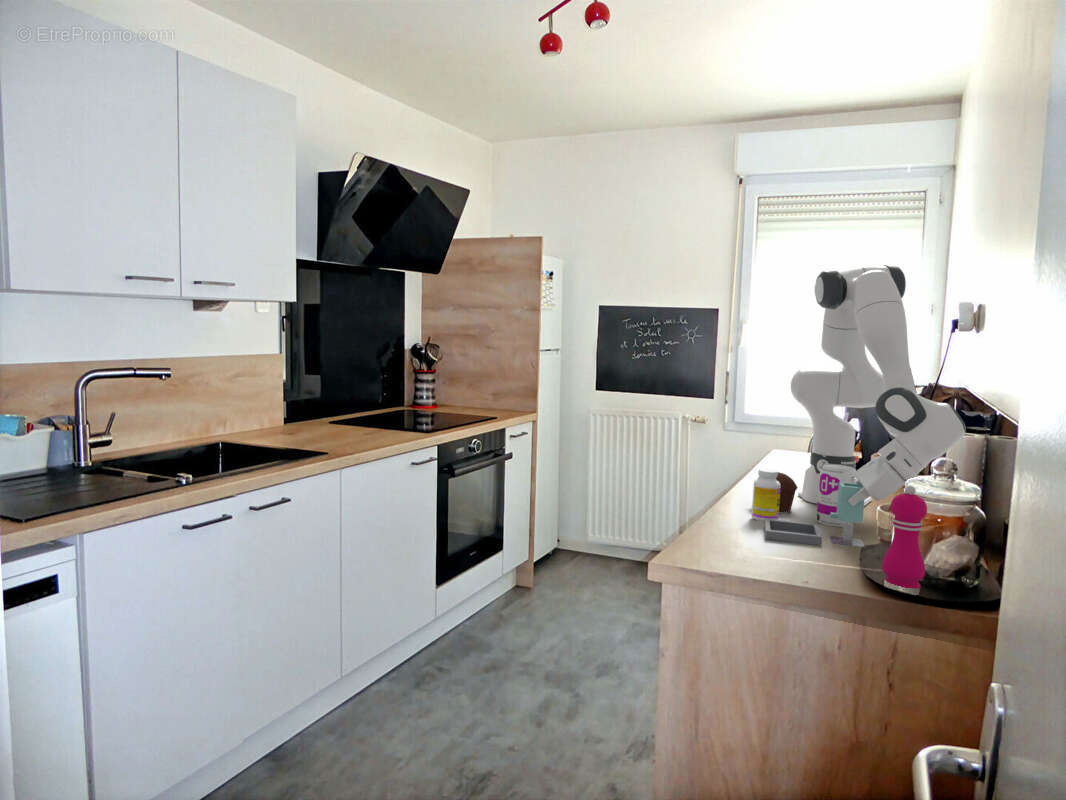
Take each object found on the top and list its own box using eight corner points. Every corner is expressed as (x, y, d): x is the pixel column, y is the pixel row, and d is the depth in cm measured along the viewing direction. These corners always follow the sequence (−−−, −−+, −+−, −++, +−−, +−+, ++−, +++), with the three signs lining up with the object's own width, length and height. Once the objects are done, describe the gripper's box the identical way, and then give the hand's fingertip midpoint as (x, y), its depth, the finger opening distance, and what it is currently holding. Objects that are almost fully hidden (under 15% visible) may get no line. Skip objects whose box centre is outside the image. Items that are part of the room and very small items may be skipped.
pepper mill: (872, 584, 140) (881, 481, 138) (908, 584, 140) (917, 482, 139) (893, 597, 133) (903, 489, 131) (931, 598, 133) (941, 490, 132)
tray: (764, 528, 179) (765, 518, 178) (816, 534, 175) (817, 524, 175) (765, 541, 167) (765, 530, 167) (821, 547, 164) (822, 536, 164)
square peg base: (829, 537, 173) (830, 519, 173) (861, 541, 171) (862, 522, 171) (832, 545, 166) (833, 526, 166) (865, 549, 165) (867, 529, 164)
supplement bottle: (779, 524, 184) (783, 473, 183) (752, 521, 186) (756, 471, 184) (776, 517, 191) (780, 469, 190) (750, 515, 192) (753, 467, 191)
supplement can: (835, 529, 181) (840, 470, 180) (809, 521, 188) (813, 464, 187) (857, 527, 185) (862, 468, 183) (831, 519, 192) (835, 462, 191)
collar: (829, 514, 172) (832, 481, 171) (859, 517, 170) (862, 484, 170) (831, 519, 168) (834, 485, 167) (862, 523, 166) (865, 488, 165)
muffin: (743, 505, 205) (746, 469, 204) (774, 503, 209) (777, 468, 208) (772, 515, 194) (775, 478, 193) (805, 512, 198) (807, 476, 197)
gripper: (880, 444, 175) (833, 480, 179) (896, 458, 156) (843, 498, 159) (899, 464, 174) (851, 500, 178) (917, 481, 155) (863, 521, 159)
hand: (847, 499), depth 169 cm, fingers closed on collar, 5 cm apart
